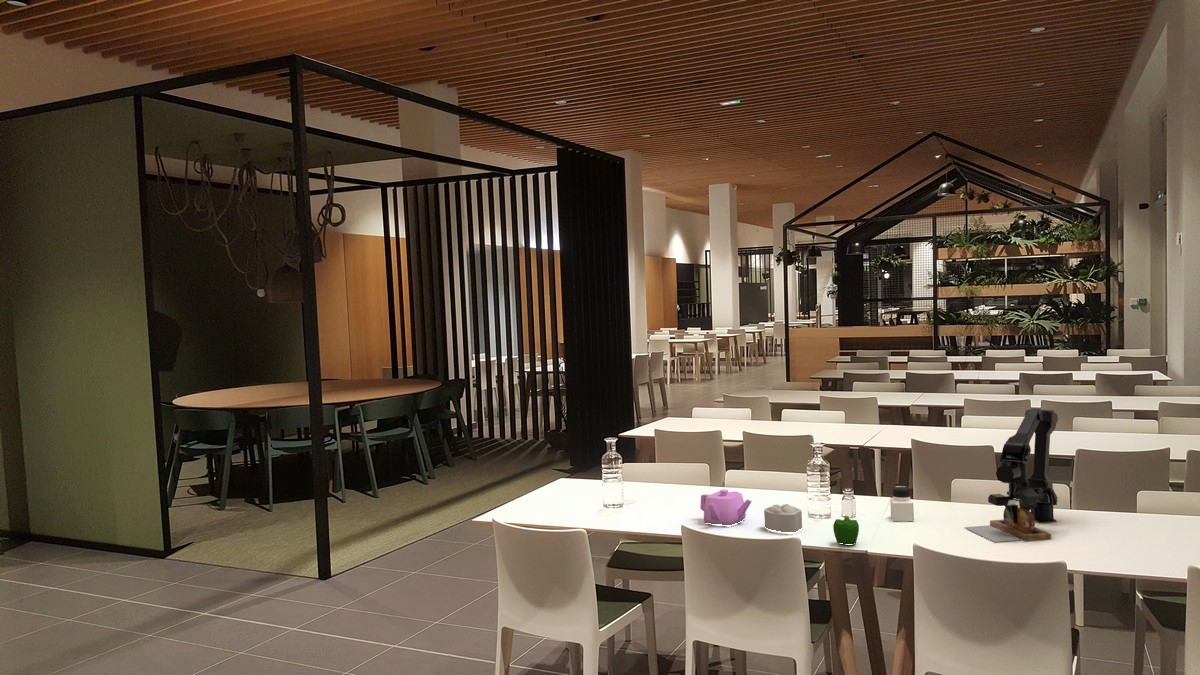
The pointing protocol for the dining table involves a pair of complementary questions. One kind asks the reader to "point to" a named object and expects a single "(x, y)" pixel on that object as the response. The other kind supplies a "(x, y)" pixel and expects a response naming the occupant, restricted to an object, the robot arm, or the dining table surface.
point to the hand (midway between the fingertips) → (1019, 523)
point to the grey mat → (992, 534)
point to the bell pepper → (846, 530)
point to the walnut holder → (1016, 533)
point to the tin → (1021, 520)
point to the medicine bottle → (901, 504)
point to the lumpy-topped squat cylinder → (783, 518)
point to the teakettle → (724, 507)
